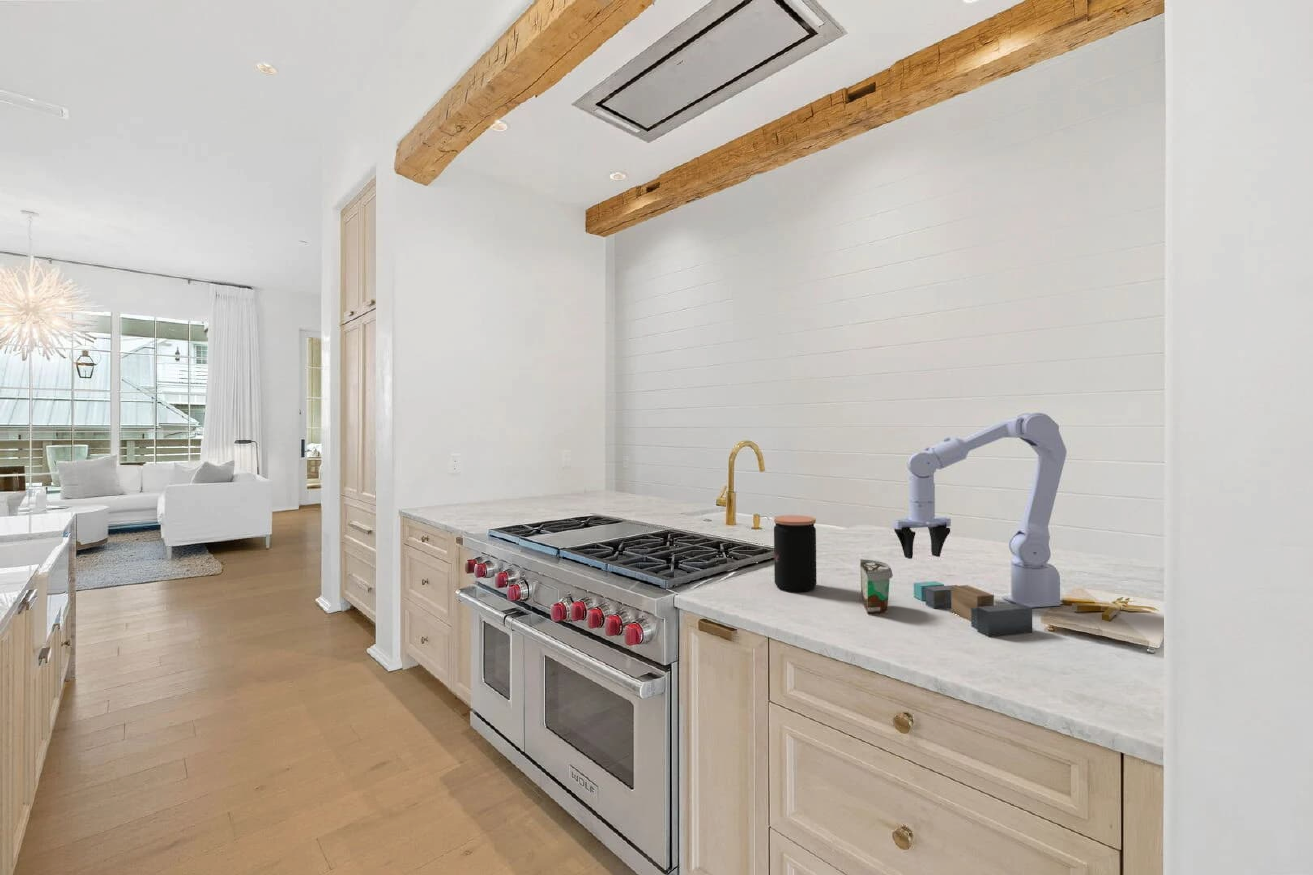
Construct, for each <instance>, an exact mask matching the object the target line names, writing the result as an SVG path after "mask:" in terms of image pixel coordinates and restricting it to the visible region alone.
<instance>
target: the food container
mask: <svg viewBox="0 0 1313 875" xmlns="http://www.w3.org/2000/svg"><path fill="white" fill-rule="evenodd" d="M859 560H860V562H859V563H860V566H859V567H860V596H861V600H860V601H861V604H862V606H863V609H864V610H866V611H865V612H866V614H876V615H882V613H883V614H885V613H887V612H888V609H889V608H888V606H889V592H890V579H891V578H893V570H892V568H891V566H890V565H889V564H888V563H886V562H883V561H880V560H879V561H878V560H873V559H859ZM886 611H887V612H886Z"/></svg>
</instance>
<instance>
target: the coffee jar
mask: <svg viewBox="0 0 1313 875" xmlns="http://www.w3.org/2000/svg"><path fill="white" fill-rule="evenodd" d="M816 519H817V518H815V517H813V516H807V515H798V514H797V515H793V514H792V515H779V516H775V517H774V518H773V522H774V523H775V525H774V526H773V557H774V558H773V562H774V567H773V568H774V584H775V586H776V587H777V589H778V590H782V591H785V592H790V593H806V592H811V591H813V590H814V589H815V587H816V586H817V529H816V527H815V524H816V521H817V520H816Z"/></svg>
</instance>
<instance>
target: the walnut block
mask: <svg viewBox="0 0 1313 875" xmlns="http://www.w3.org/2000/svg"><path fill="white" fill-rule="evenodd" d="M992 605H995V595H994V594H992V593H990V592H986V591H984V590H981V589H979V588H976V587H974V586H970V585H968V584H966V585H958V586H951V607H950V609H951V611H950V612H951V613H952V614H953V613H954V615H955V614H957V615H956V616H958V615H959V616H958V617H960V618H962V619H965V620H966V619H967V621H968V620H969V622H971V607H980V606H992Z"/></svg>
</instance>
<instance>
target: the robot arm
mask: <svg viewBox="0 0 1313 875" xmlns="http://www.w3.org/2000/svg"><path fill="white" fill-rule="evenodd" d="M1003 438H1015V439H1020V440H1021V441H1024V442H1025V443H1027V444H1028V445H1029V446H1030V448H1032V449H1033V451H1034V452H1035V453H1036V455H1037V456H1038V458H1037V461H1036V466H1035V469H1034V473H1033V477H1032V481H1031V485H1030V489H1029V492H1028V497H1027V502H1026V505H1025V509H1024V512H1023V517H1022V520H1021V522H1019V524H1018V526H1017V527H1016V531H1015V533H1014V534H1013V535H1012V536H1011V538H1010V539H1009V542H1008V548H1009V551H1010V552H1011V554H1013V557H1012V559H1011V560H1010V589H1011V590H1010V595H1003V596H1001V598H1002V599H1003V600H1006V601H1009V602H1010V603H1011V602H1012V603H1013V604H1023V605H1026V606H1028V607H1031V608H1032V609H1033V608H1042V607H1043V608H1045V607H1053V606H1054V607H1056V606H1061V605H1060V604H1062V603H1063V602H1062V601H1061V577H1060V573H1059V571H1058V569H1057V567H1055V566H1054V565H1053V564H1051V563H1048V562H1049V560H1050V559H1051V553H1052V552H1051V549H1050V540H1051V539H1050V538H1051V537H1050V536H1051V535H1050V531H1049V524H1050V520H1051V516H1052V513H1053V508H1054V504H1055V502H1056V501H1055V500H1056V496H1057V493H1058V489H1059V485H1060V481H1061V477H1062V473H1063V469H1064V467H1065V466H1064V465H1065V461H1066V457H1067V448H1066V446H1065V443H1064V440H1063V438H1062V435H1061V433H1060V426H1059V424H1058V423H1057V422H1056V421H1055V420H1053V418H1051V417H1050V416H1049V415H1048V414H1046V413H1043V412H1034V413H1030V412H1028V413H1027V412H1026V413H1025V412H1024V413H1022V414H1020V415H1017V416H1014V417H1009V418H1006V419H1004V420H1000V421H998V422H996V423H994V424H992V425H990V426H988V427H986V428H983V429H981V430H979V431H977V432H975V433H973V434H971V435H969V436H967V437H965V438H963V439H961V438H958V437H954V436H953V437H951V438H950V437H948V436H947V437H944V438H943V439H942V442H939V443H937V444H935V445H933V446H930V447H928V446H926V447H924V448H923V450H924V452H921V451H920V452H915V453H913V454H912V455H911V456H910V457H909V458H908V461H907V463H906V465H907V468H908V471H910V472H909V478H908V479H909V480H910V481H909V482H908V504H909V505H908V507H909V508H908V511H909V513H908V514H909V516H908V517H909V518H904V519H903V518H901V519H895V520H893V521H892V522H893V523H892V524H893V525H892V526H893V528H892V529H894V533H895V534H896V536H897V538H898V540H899V542H900V545H901V547H902V551H903V556H904V558H906V559H909V560H910V559H911V560H912V559H913V557H914V541H915V537H916V531H913V530H912V529H917V528H918V529H919V528H921V529H922V528H928V532H929V536H930V547H931V548H930V550H931V551H930V552H931V556H932V557H933V556H934V557H937V558H940V557H941V553H942V550H943V547H944V544H945V541H946V540H947V537H948V536H949V534H950V533H951V525H952V524H951V521H952V520H951V518H950V517H936V500H935V499H936V497H935V495H936V494H935V492H936V489H935V488H936V487H935V485H936V484H935V473H936V472H937V470H942V469H944V468H947V467H949V466H952V465H954V464H956V463H958V462H961V461H963V460H965V459H967V457H968V455H969V452H970V451H973V450H975V449H978V448H980V447H984V446H986V445H988V444H991V443H993V442H995V441H998V440H1001V439H1003Z"/></svg>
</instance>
